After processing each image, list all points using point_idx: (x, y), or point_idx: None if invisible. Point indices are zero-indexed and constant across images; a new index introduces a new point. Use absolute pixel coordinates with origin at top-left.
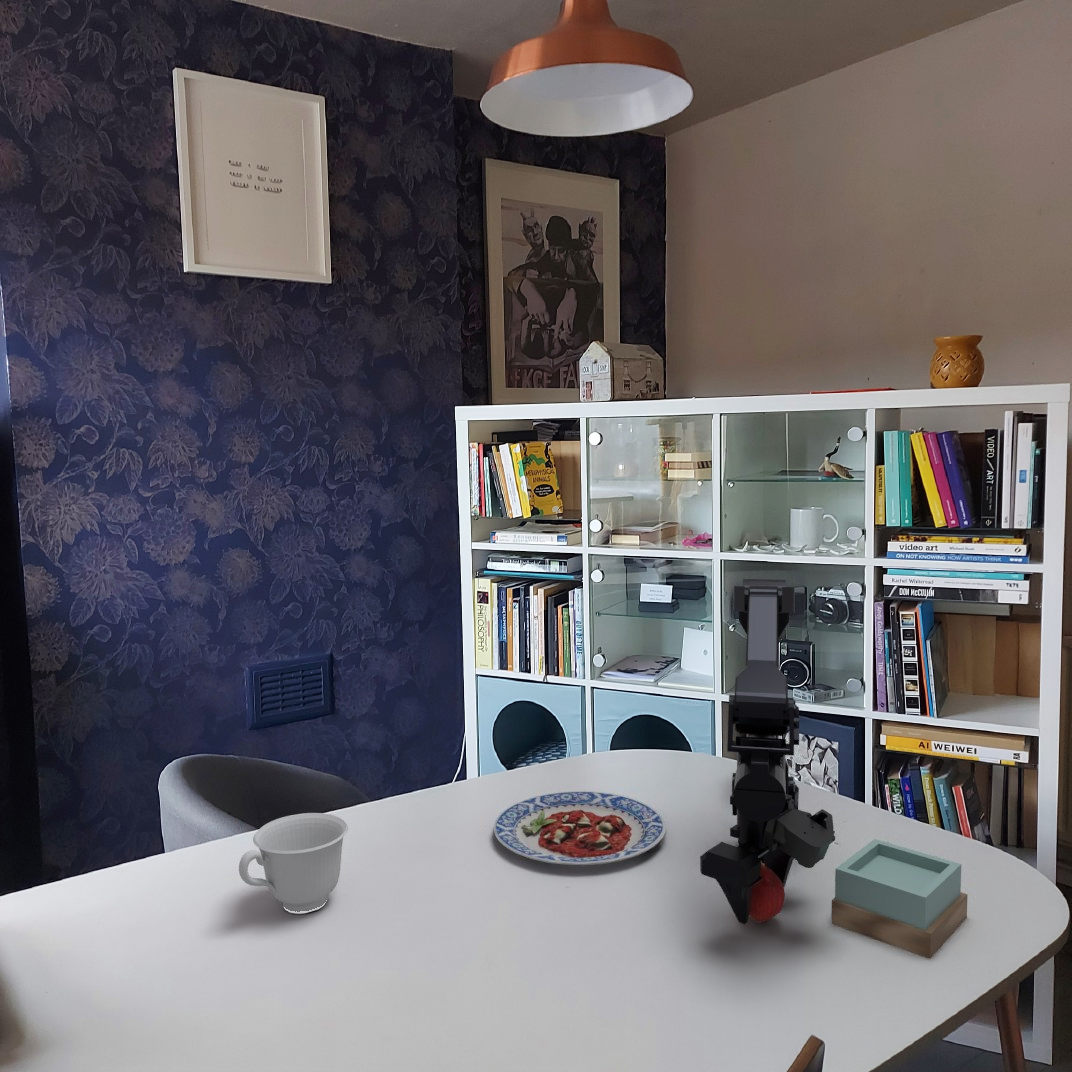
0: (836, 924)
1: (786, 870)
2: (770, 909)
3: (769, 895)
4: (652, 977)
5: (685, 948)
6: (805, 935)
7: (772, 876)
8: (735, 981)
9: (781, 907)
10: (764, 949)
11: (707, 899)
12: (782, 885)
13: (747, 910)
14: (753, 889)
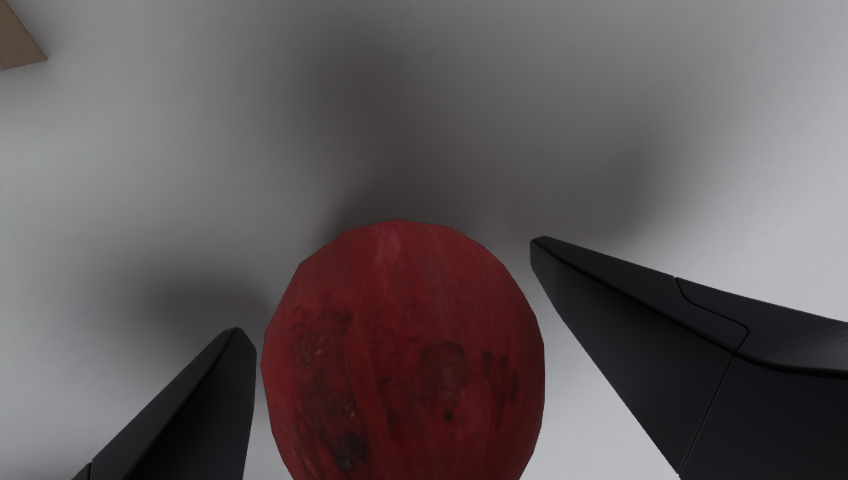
0: (13, 22)
1: (129, 471)
2: (453, 232)
3: (482, 290)
4: (837, 199)
5: (673, 258)
6: (294, 70)
7: (407, 432)
8: (797, 12)
9: (361, 228)
10: (537, 108)
11: None
12: (305, 343)
13: (609, 260)
14: (543, 365)
